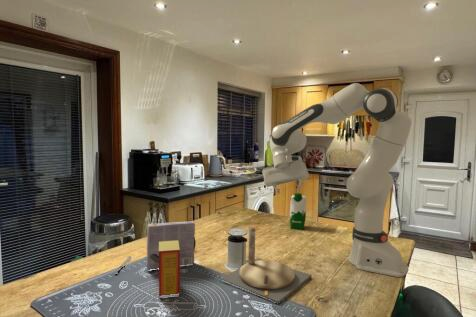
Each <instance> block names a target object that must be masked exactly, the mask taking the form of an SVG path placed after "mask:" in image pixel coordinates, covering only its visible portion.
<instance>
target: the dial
mask: <svg viewBox="0 0 476 317" xmlns="http://www.w3.org/2000/svg"><path fill="white" fill-rule="evenodd" d="M255 258H256V227H253V226H252V227H249V228H248V259H247V260H248V262H246V263H245V264H243V265H242V266H241V267H240V278H241V280H242V281H243V282H245V283H246V284H248V285H250V286H253V287H257V288H262V289H278V288H283V287H286V286H288V285H290V284H292V283H293V281H294V276H295V273H294V271H293V269H294V268H292V267H291V266H290V265H287V264H285V263H283V262H280V261H275V260H268V259H267V260H266V259H262V260H259V261H255V260H256V259H255Z"/></svg>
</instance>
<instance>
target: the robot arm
mask: <svg viewBox="0 0 476 317" xmlns="http://www.w3.org/2000/svg"><path fill="white" fill-rule="evenodd" d="M398 105H399V100H398V96H397V95H396V93H395V92H394V91H392V90H391V89H389V88H385V87H381V88H380V87H378V88H374V89H371V90H368V89H367V88H366V87H365V86H364V85H363V84H360V83H357V82H353V83H351V84H349V85H347V86H345V87H344V88H342V89H341V90H339V91H337V92H336V93H335V94H333V95H332V96H331V97H329V98H327V99H326V100H323V101H322V102H319V103H316V104H313V105H310V106H308V107H306V108H305V109H304V110H302V111H300V112H299V113H297V114H295V115H294V116H292V117H290V118H289V119H288V120H286V121H282V122H279V123H278V124H276V125H275V126H274V127H273V128H272V130H271V134H270V135H271V136H270V138H269V146H270V153H271V155H272V163H273V165H270V166H267V167H265V168H264V169H262V170H261V173H262V176H263V181H264V185H265V186H266V187H267V188H270V187H272V188H273V189H275V191H276V194H277V195H279V194H281V191H280V188H277V185H278V186H279V185H284V184H287V183H292V182H297V181H298V184H296V186H297V190H302V186H301V185H302V183H303V180H305V179H308V178H309V177H310V173H309V171H308V168H307V166H306V164H305V162H304V161H303V159H302V156H300V155H293V154H296V153H299V152H301V151H303V150H304V149H305V148H306V146H307V144H308V137H307V135H306V134H305V133H304V132H302V131H300V130H301V129H303V128H304V127H306V126H308V125H310V124H313V123H321V124H330V125H335V124H339V123H342V122H344V121H345V120H347V119H348V118H350V117H351V116H353V114H355V113H357V112H359V111H361V110H364V112H365V113H366V114H367V115H368V116H369V117H371V118H373V119H374V120H375V121H377V122H379V125H378V128H377V131H376V133H375V135H374V138H373V140H372V142H371V144H370V147H369V149H368V152H367V153H366V155H365V156H364V158H363V159H362V160H361V162H360V164H359V165H358V167H357V168H356V169H355V171H354V172H353V173H352V174H351V175H350V176H349V177H348V178H347V179H346V184H345V185H346V190H347V192H348V193H349V195H351V196H352V197H354V198H357V199H359V202H358V204H357V205H356V207H355V209H354V220H353V221H354V223H353V224H354V225H353V227H352V232H351V233H352V235H351V237H352V244H351V245H352V246H351V249H350V250H351V251H350V253H349V257H348V261H349V262H350V264H352V265H354V266H355V267H356V269H358V270H360V271H365V272H371V273H376V274H381V275H385V276H390V277H396V278H401V277H404V276H406V275H407V274H408V272H409V266H408V265H407V264H406V263H405V262H403V257H402V253H401V252H400V250H399V249H398V248H396V247H395V246H394V245H392V244H391V243H390V242H389V240H388V239H389V232H387V233H386V232H385V231H384V215H385V209H386V206H387V202H388V199H389V195H390V191H391V190H392V188H393V187H394V181H395V180H394V178H393V176H392V174H391V173H390V170H392V168H393V167H394V166H395V165H396V164H397V162H398V159H399V157H400V156H401V153H402V151H403V149H404V147H405V144H406V142H407V140H408V137H409V136H410V135H409V134H410V131H411V126H412V119H411V118H410V116H409V115H407V114H406V113H404V112H402V111H399V110H398Z"/></svg>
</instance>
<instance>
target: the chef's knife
mask: <svg viewBox="0 0 476 317" xmlns="http://www.w3.org/2000/svg"><path fill="white" fill-rule="evenodd" d="M131 259H132V256H130V255H129V256H128V257H127V258H126V259H125V260H124V262H123V263H122V264H121V265H120V266H119V268H121V267H122V266H123V265H126V264H127V263H129V262H130V261H131ZM131 262H132V261H131Z"/></svg>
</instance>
